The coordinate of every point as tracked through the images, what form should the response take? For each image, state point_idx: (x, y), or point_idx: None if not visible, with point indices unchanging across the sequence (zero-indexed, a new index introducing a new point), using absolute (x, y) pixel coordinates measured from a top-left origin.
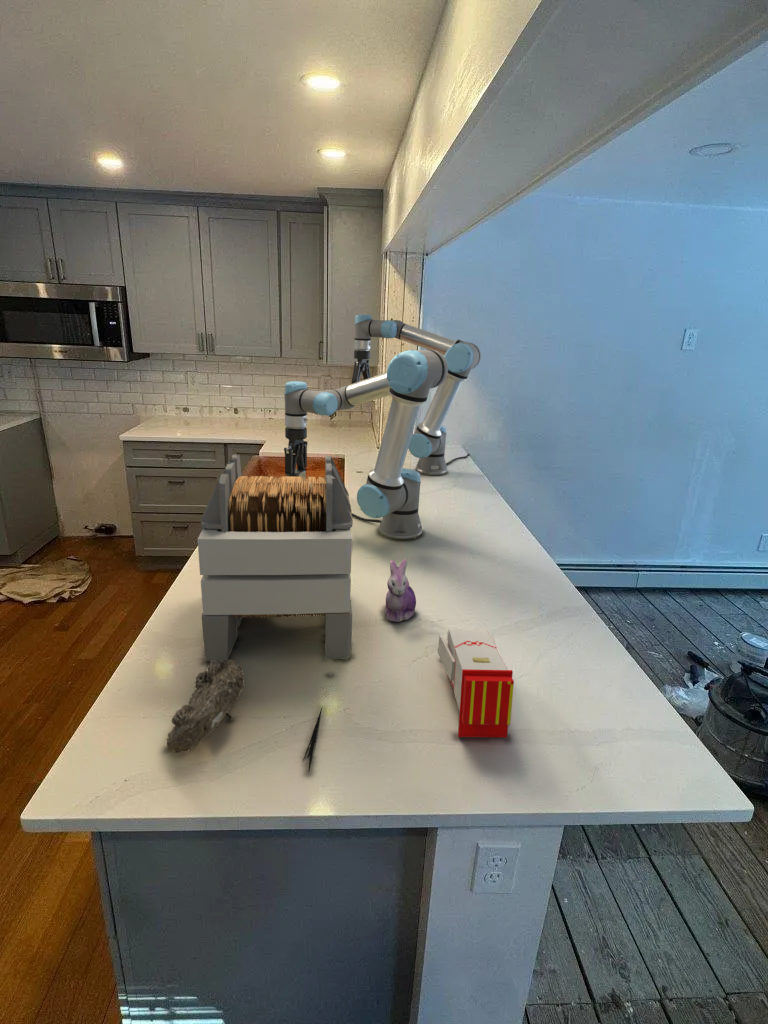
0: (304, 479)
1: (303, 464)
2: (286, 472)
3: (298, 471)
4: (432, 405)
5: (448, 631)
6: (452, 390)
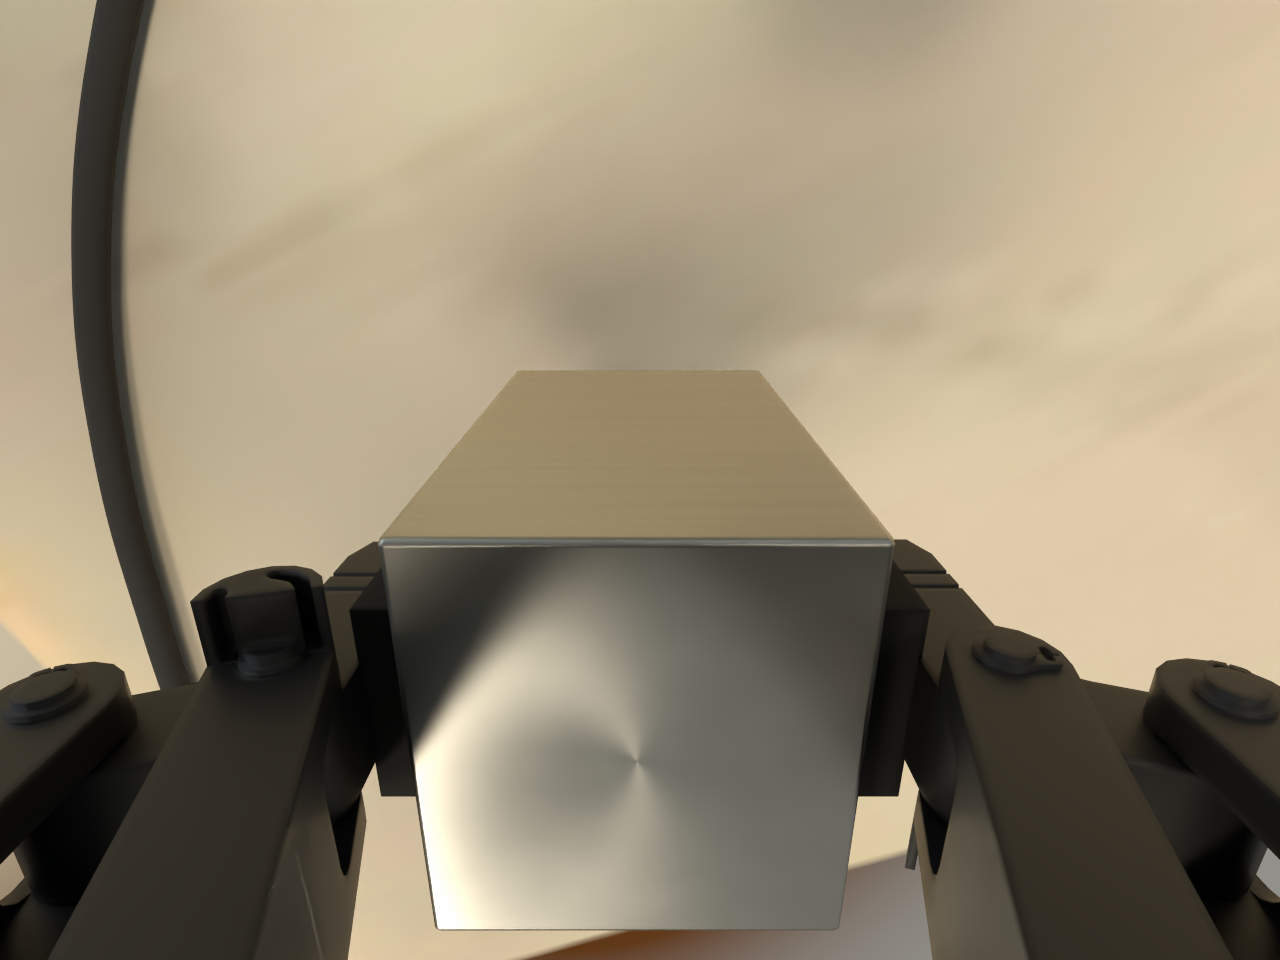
0: (538, 440)
1: (203, 801)
2: (1249, 875)
3: (645, 683)
4: None
5: None
6: None
